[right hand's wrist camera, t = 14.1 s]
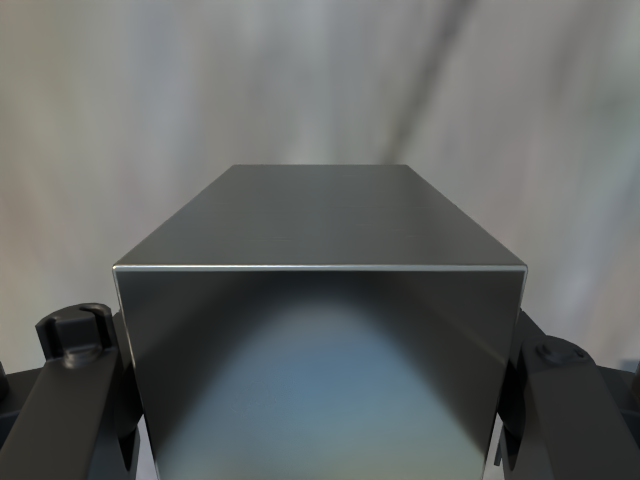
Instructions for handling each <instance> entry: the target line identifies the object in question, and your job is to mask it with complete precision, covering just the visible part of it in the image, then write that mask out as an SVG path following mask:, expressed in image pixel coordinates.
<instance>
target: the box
mask: <svg viewBox="0 0 640 480" xmlns="http://www.w3.org/2000/svg"><path fill="white" fill-rule="evenodd" d="M112 273H113V277H114V282H115V286H116V291H117V295H118V300H119V305H120V309H121V314H122V318H123V323H124V327H125V332H126V337H127V341H128V346H129V350H130V355H131V359H132V364H133V368H134V373H135V378H136V382H137V387H138V391H139V396H140V400H141V405H142V410H143V414H144V419H145V423H146V428H147V432H148V437H149V441H150V446H151V451H152V455H153V460H154V464H155V469H156V473H157V478H158V480H482V479H483V474H484V470H485V465H486V460H487V456H488V451H489V447H490V442H491V438H492V433H493V429H494V424H495V420H496V415H497V410H498V406H499V401H500V397H501V392H502V388H503V383H504V379H505V374H506V370H507V365H508V360H509V356H510V351H511V347H512V342H513V338H514V333H515V329H516V324H517V319H518V315H519V310H520V306H521V301H522V297H523V292H524V288H525V283H526V279H527V274H528V267H527V265H526V264H525V263H524V262H523V261H522V260H520V259H519V258H518V257H517V256H516V255H514V254H513V253H512V252H511V251H510V250H508V249H507V248H506V247H505V246H504V245H502V244H501V243H500V242H499V241H498V240H496V239H495V238H494V237H493V236H492V235H490V234H489V233H488V232H487V231H486V230H484V229H483V228H482V227H481V226H480V225H478V224H477V223H476V222H475V221H474V220H472V219H471V218H470V217H469V216H468V215H466V214H465V213H464V212H463V211H462V210H460V209H459V208H458V207H457V206H456V205H454V204H453V203H452V202H451V201H450V200H448V199H447V198H446V197H445V196H444V195H443V194H441V193H440V192H439V191H438V190H437V189H435V188H434V187H433V186H432V185H431V184H429V183H428V182H427V181H426V180H425V179H423V178H422V177H421V176H420V175H419V174H417V173H416V172H415V171H414V170H413V169H411V168H410V167H409V166H408V165H233V166H231V167H230V168H229V169H228V170H227V171H225V172H224V173H223V174H222V175H221V176H219V177H218V178H217V179H216V180H215V181H213V182H212V183H211V184H210V185H209V186H207V187H206V188H205V189H204V190H203V191H201V192H200V193H199V194H198V195H197V196H195V197H194V198H193V199H192V200H191V201H189V202H188V203H187V204H186V205H185V206H183V207H182V208H181V209H180V210H179V211H177V212H176V213H175V214H174V215H173V216H171V217H170V218H169V219H168V220H167V221H165V222H164V223H163V224H162V225H161V226H159V227H158V228H157V229H156V230H155V231H153V232H152V233H151V234H150V235H149V236H147V237H146V238H145V239H144V240H143V241H141V242H140V243H139V244H138V245H137V246H135V247H134V248H133V249H132V250H131V251H129V252H128V253H127V254H126V255H125V256H123V257H122V258H121V259H120V260H119V261H117V262H116V263H115V264H114V265H113V268H112Z"/></svg>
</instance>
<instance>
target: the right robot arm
mask: <svg viewBox="0 0 640 480" xmlns="http://www.w3.org/2000/svg"><path fill="white" fill-rule="evenodd" d="M35 327H36V331H37V334H38V337H39V340H40V343H41V346H42V349H43V352H44V355H45V358H46V362H45V364H44V366H43V367H42V368H38V369H32V370H27V371H22V372H17V373H12V374H7V375H6V374H5V372H4V369H3V366H2V364H1V362H0V480H135V479H136V471H137V463H138V455H139V447H140V435H139V429H138V425H137V424H138V422H139V420H140V418H141V417H142V415H143V410H142V405H141V400H140V396H139V391H138V387H137V382H136V378H135V373H134V368H133V364H132V359H131V355H130V350H129V346H128V341H127V337H126V332H125V327H124V323H123V318H122V314H121V309H120V310H119V312H117V313H116V314H115V315H114V316H113V317H112V313H111V309H110V308H109V307H108V306H106V305H105V304H99V303H83V304H78V305H73V306H69V307H66V308H63V309H60V310H58V311H55V312H53V313H51V314H50V315H48V316H46V317H44V318H43V319H42V320H41V321H40V322H39V323H38V324H37V325H36V326H35ZM497 412H498V414H499V416H500V418H501V420H502V421H503V425H502V429H501V434H500V438H499V442H498V447H497V451H496V455H495V461H494V465H496V466H499V465H500V461H501V458H502V462H503V470H504V478H505V480H640V362H639V365H638V367H637V370H636V373H632V372H627V371H622V370H617V369H611V368H606V367H601V366H597V365H596V364H595V362H594V360H593V359H592V358H591V356H590V355H589V354H588V353H587V352H586V351H584V350H583V349H582V348H580V347H579V346H577V345H575V344H573V343H571V342H569V341H566V340H564V339H561V338H557V337H553V336H548V335H545V334H544V332H543V331H542V330H541V329H540V328H539V327H538V326H537V325H536V324H535V323H534V322H533V321H532V319H531V318H530V317H529V316H528V315H527V314H526V313H525V312H524V311H522V309H521V308H520V310H519V315H518V319H517V324H516V329H515V333H514V338H513V342H512V347H511V351H510V356H509V360H508V365H507V370H506V374H505V379H504V383H503V388H502V392H501V397H500V401H499V406H498V410H497Z"/></svg>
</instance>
